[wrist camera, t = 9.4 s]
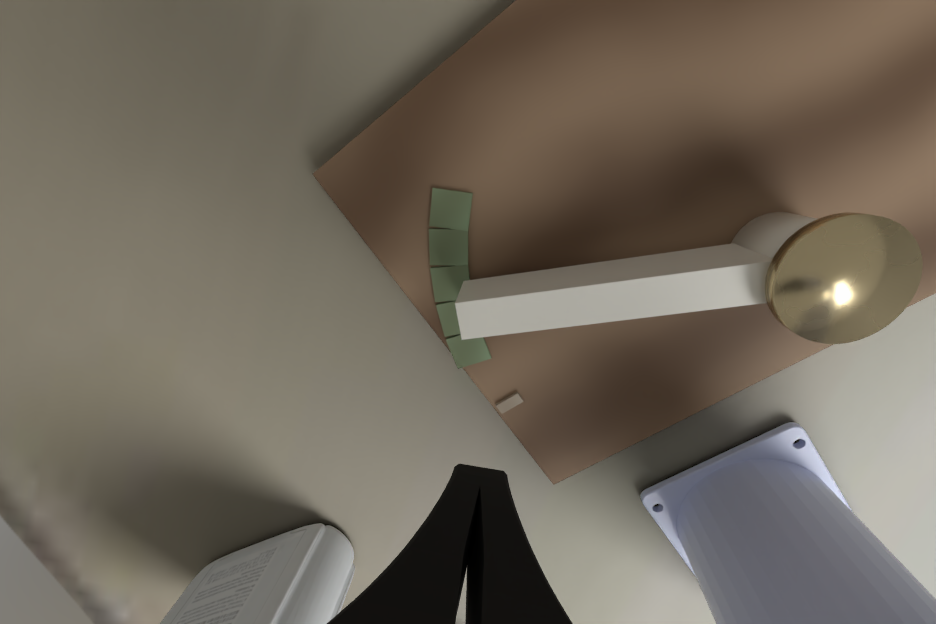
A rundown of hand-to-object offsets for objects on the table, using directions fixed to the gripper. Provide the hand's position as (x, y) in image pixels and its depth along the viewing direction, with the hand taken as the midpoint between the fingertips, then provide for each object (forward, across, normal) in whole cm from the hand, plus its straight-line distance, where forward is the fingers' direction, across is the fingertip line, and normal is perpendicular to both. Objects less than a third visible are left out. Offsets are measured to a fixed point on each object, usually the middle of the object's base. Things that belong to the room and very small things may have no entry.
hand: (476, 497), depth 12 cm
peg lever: (+8, -5, -5) cm, 11 cm away
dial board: (+9, -6, -8) cm, 14 cm away
